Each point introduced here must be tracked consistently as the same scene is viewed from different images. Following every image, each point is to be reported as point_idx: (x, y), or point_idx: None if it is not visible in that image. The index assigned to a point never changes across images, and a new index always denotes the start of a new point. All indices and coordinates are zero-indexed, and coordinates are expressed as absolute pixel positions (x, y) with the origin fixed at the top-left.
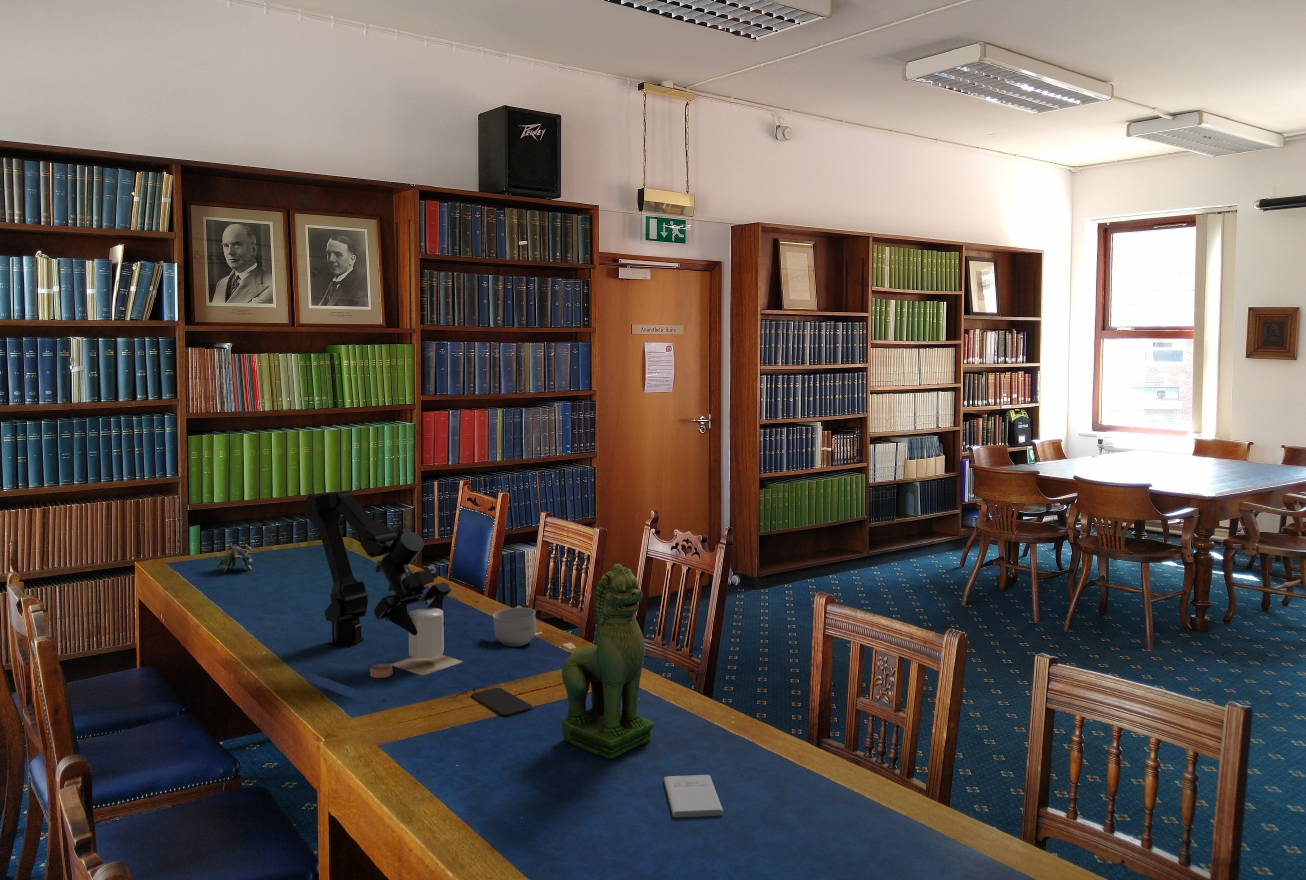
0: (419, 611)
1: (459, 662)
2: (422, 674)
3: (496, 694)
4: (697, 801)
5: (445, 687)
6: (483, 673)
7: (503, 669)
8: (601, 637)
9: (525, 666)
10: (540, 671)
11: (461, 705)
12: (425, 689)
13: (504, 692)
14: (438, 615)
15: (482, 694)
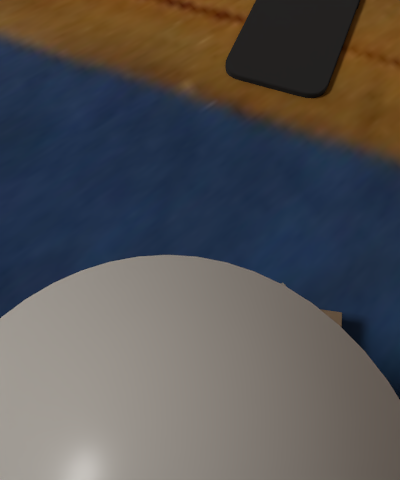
0: None
1: None
2: None
3: (275, 42)
4: None
5: (316, 205)
6: (133, 186)
7: (69, 157)
8: None
9: (17, 120)
10: (42, 65)
11: (393, 74)
12: (379, 252)
13: (249, 35)
14: (170, 257)
15: (300, 68)
